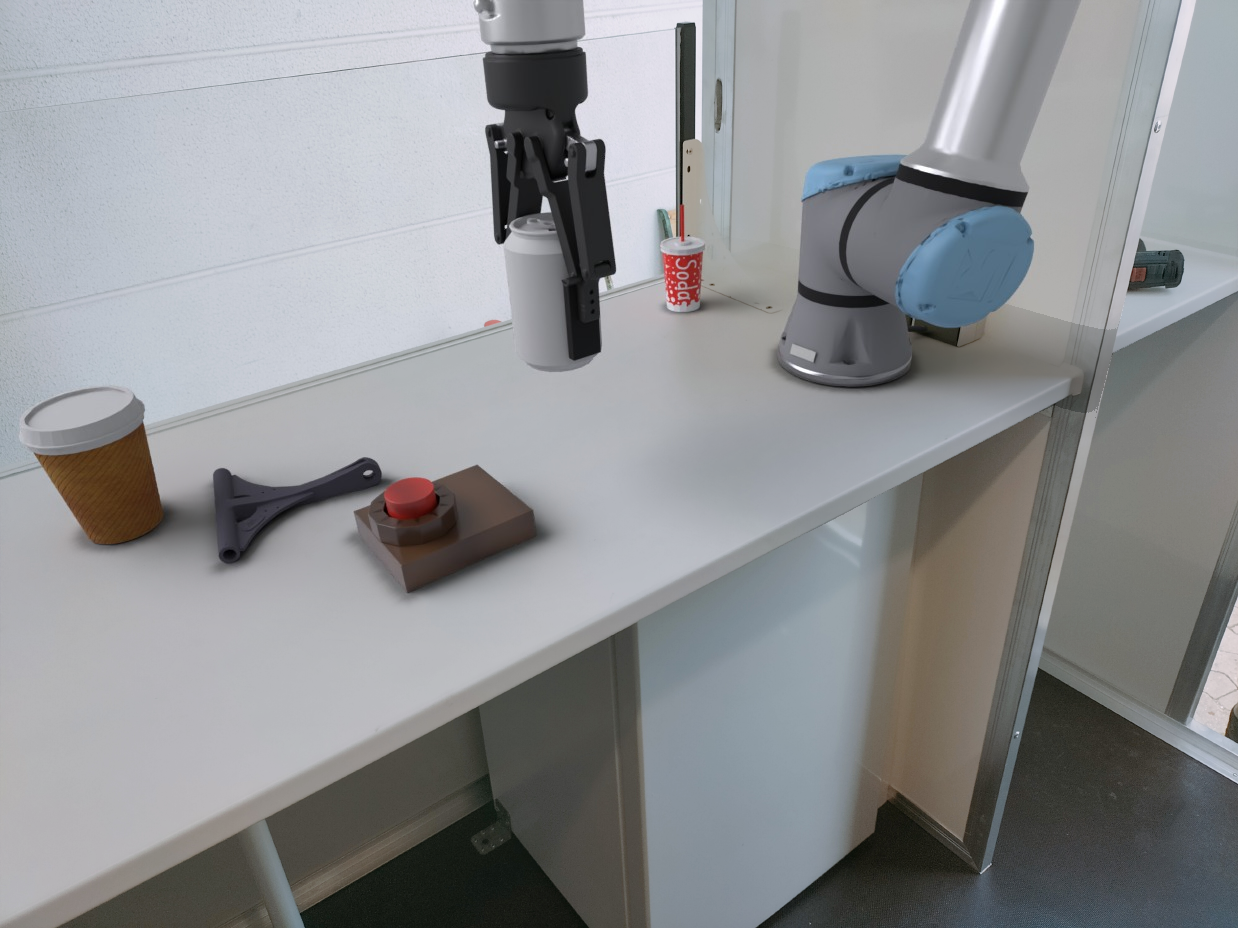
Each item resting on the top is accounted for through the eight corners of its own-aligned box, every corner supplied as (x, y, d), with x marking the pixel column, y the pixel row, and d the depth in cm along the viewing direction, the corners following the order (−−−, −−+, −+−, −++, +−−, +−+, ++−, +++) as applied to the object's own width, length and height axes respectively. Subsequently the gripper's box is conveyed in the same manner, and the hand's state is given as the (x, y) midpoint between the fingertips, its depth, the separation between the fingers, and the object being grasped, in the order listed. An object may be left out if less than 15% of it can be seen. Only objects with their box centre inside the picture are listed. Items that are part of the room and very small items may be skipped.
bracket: (398, 518, 76) (392, 492, 75) (221, 565, 71) (212, 538, 70) (369, 449, 88) (364, 425, 87) (215, 486, 83) (207, 461, 82)
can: (591, 378, 70) (581, 233, 64) (505, 374, 72) (487, 232, 66) (611, 343, 76) (603, 208, 70) (531, 340, 78) (517, 207, 72)
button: (424, 489, 73) (421, 471, 72) (445, 509, 70) (442, 491, 69) (380, 506, 71) (376, 488, 70) (400, 527, 68) (396, 509, 67)
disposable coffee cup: (190, 531, 76) (146, 411, 70) (70, 569, 72) (12, 446, 66) (174, 485, 83) (133, 373, 77) (64, 518, 79) (11, 402, 73)
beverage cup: (656, 313, 117) (654, 210, 110) (667, 298, 122) (664, 198, 115) (700, 315, 116) (700, 211, 109) (709, 300, 121) (709, 199, 114)
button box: (481, 488, 80) (474, 447, 78) (536, 536, 73) (531, 492, 71) (359, 536, 74) (348, 493, 72) (407, 593, 67) (396, 547, 65)
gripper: (426, 45, 67) (465, 320, 79) (566, 59, 53) (589, 392, 64) (509, 37, 71) (535, 301, 82) (661, 48, 56) (666, 365, 68)
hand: (558, 340), depth 73 cm, fingers closed on can, 7 cm apart
